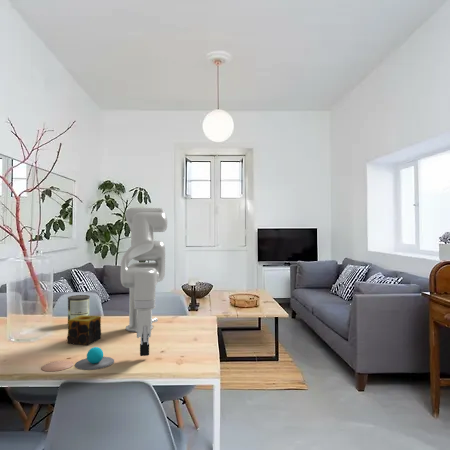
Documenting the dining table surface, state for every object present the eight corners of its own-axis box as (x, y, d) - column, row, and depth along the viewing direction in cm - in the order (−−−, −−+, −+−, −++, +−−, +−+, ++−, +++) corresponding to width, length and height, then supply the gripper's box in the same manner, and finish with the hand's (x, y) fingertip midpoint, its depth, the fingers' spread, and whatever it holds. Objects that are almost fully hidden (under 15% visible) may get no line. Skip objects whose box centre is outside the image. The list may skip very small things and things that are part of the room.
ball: (103, 352, 134) (90, 345, 133) (108, 351, 130) (95, 343, 129) (95, 367, 131) (81, 359, 129) (99, 365, 127) (86, 357, 125)
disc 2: (101, 354, 139) (101, 354, 139) (121, 362, 131) (121, 361, 131) (67, 363, 129) (67, 363, 129) (86, 372, 121) (87, 372, 121)
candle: (88, 345, 151) (88, 321, 151) (66, 344, 153) (66, 320, 153) (101, 339, 161) (101, 315, 161) (80, 337, 163) (80, 314, 163)
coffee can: (62, 325, 184) (63, 297, 185) (80, 321, 193) (80, 294, 194) (76, 328, 179) (76, 298, 180) (93, 323, 188) (94, 295, 188)
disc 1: (65, 359, 134) (65, 358, 134) (79, 365, 127) (79, 364, 127) (36, 366, 126) (36, 366, 126) (49, 373, 120) (49, 373, 120)
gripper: (134, 301, 141) (133, 349, 140) (134, 308, 126) (133, 362, 126) (154, 300, 143) (153, 348, 142) (156, 307, 128) (156, 361, 128)
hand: (144, 355), depth 134 cm, fingers closed
